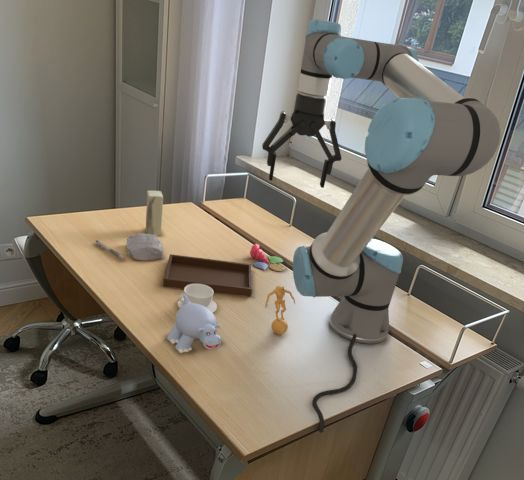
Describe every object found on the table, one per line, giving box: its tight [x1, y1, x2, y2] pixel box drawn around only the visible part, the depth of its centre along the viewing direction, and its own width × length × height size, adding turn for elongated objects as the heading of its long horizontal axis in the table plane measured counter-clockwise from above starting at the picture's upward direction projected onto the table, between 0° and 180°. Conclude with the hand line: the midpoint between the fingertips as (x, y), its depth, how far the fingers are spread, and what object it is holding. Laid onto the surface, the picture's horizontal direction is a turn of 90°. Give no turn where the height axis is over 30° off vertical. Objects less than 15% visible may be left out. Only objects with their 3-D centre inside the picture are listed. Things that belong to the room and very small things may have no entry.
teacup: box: [177, 284, 218, 314], centre depth 138 cm, size 10×10×5 cm
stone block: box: [126, 233, 164, 262], centre depth 160 cm, size 12×5×10 cm
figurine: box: [264, 285, 296, 335], centre depth 132 cm, size 8×6×12 cm
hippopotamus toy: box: [166, 292, 222, 354], centre depth 123 cm, size 11×15×10 cm
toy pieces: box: [249, 243, 286, 272], centre depth 166 cm, size 12×11×4 cm
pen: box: [94, 239, 125, 260], centre depth 157 cm, size 1×14×1 cm, turn 47°
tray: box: [162, 253, 253, 298], centre depth 153 cm, size 16×24×2 cm, turn 92°
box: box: [145, 190, 164, 236], centre depth 170 cm, size 5×4×13 cm
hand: (296, 182), depth 143 cm, fingers open, 13 cm apart
